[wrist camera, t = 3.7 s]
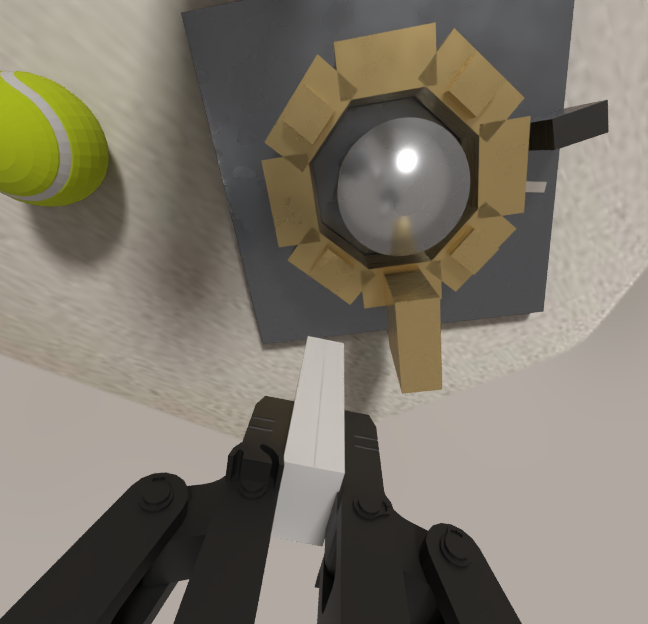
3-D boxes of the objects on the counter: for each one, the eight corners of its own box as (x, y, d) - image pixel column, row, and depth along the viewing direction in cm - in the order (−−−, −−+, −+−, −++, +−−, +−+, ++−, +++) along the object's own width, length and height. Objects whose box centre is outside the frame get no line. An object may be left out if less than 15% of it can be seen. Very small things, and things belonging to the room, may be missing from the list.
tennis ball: (147, 127, 22) (75, 117, 16) (110, 219, 25) (35, 240, 19) (40, 57, 21) (-82, 17, 15) (13, 161, 23) (-103, 163, 17)
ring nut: (254, 73, 20) (205, 25, 12) (508, 25, 18) (618, -59, 11) (304, 334, 26) (291, 404, 19) (496, 312, 25) (561, 377, 17)
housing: (265, 336, 28) (243, 392, 21) (189, 20, 20) (116, -46, 13) (534, 304, 26) (601, 355, 19) (566, -58, 18) (697, -179, 12)
